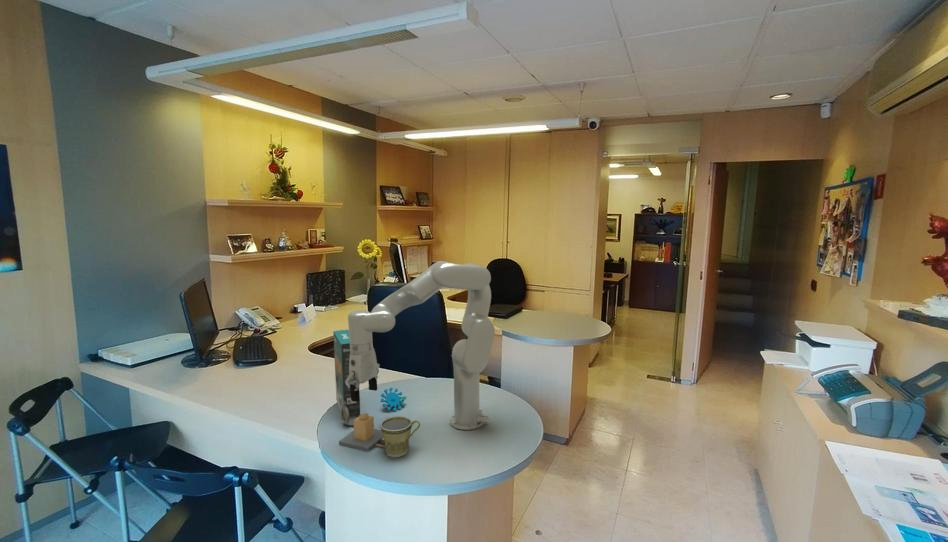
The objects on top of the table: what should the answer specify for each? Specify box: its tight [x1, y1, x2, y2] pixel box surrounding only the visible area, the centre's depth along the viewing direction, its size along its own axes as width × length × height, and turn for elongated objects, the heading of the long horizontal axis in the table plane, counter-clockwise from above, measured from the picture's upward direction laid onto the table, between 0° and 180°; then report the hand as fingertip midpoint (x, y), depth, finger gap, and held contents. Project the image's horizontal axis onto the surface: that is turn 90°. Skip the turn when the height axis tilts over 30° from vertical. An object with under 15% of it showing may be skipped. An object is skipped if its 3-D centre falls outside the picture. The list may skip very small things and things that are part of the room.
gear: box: [380, 387, 408, 412], centre depth 172 cm, size 11×6×10 cm
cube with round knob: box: [353, 413, 375, 441], centre depth 146 cm, size 5×5×8 cm
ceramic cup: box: [380, 415, 421, 459], centre depth 138 cm, size 13×10×10 cm
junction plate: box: [338, 428, 386, 452], centre depth 145 cm, size 16×12×6 cm
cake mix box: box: [333, 329, 361, 418], centre depth 170 cm, size 22×6×30 cm, turn 26°
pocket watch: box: [340, 400, 358, 427], centre depth 157 cm, size 8×8×10 cm
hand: (364, 395), depth 144 cm, fingers open, 9 cm apart
